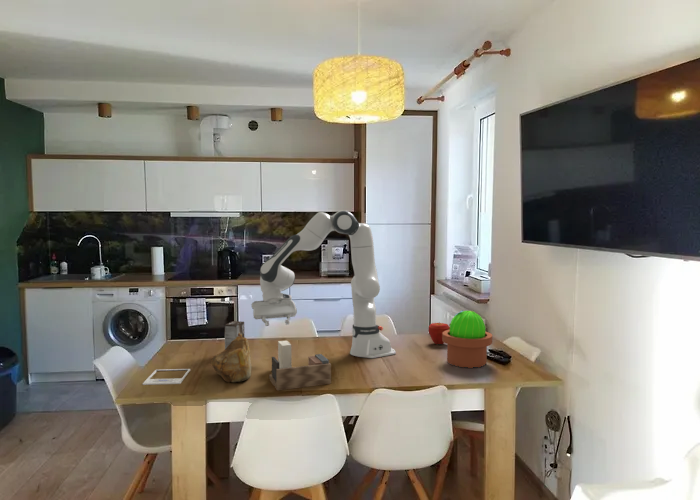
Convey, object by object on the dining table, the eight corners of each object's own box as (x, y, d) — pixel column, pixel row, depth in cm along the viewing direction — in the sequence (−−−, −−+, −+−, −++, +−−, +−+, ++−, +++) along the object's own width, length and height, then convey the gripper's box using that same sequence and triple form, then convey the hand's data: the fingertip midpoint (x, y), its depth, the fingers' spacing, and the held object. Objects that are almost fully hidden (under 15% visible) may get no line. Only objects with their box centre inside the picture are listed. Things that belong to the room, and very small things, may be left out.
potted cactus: (499, 362, 231) (501, 309, 229) (476, 373, 215) (478, 315, 213) (457, 353, 246) (458, 303, 244) (433, 363, 229) (434, 309, 228)
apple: (449, 342, 268) (450, 320, 267) (449, 347, 257) (449, 324, 257) (428, 341, 270) (429, 318, 270) (427, 345, 260) (427, 323, 259)
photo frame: (142, 383, 199) (155, 369, 216) (142, 385, 199) (155, 371, 216) (180, 382, 200) (190, 368, 218) (180, 384, 200) (190, 370, 218)
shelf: (320, 373, 214) (320, 350, 213) (330, 383, 201) (330, 359, 200) (269, 379, 206) (269, 355, 205) (277, 390, 193) (276, 364, 192)
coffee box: (232, 353, 245) (232, 320, 244) (245, 353, 244) (244, 321, 243) (224, 358, 236) (224, 324, 235) (237, 359, 235) (236, 325, 234)
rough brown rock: (216, 369, 221) (213, 337, 219) (254, 365, 222) (251, 333, 221) (207, 389, 198) (202, 353, 196) (249, 384, 199) (245, 348, 198)
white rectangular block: (286, 367, 223) (286, 340, 222) (291, 372, 215) (291, 344, 214) (278, 368, 221) (278, 341, 220) (282, 373, 214) (282, 345, 213)
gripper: (251, 297, 232) (255, 322, 223) (294, 295, 239) (300, 319, 231) (250, 305, 236) (254, 330, 228) (292, 302, 244) (297, 326, 235)
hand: (277, 324), depth 229 cm, fingers open, 8 cm apart
